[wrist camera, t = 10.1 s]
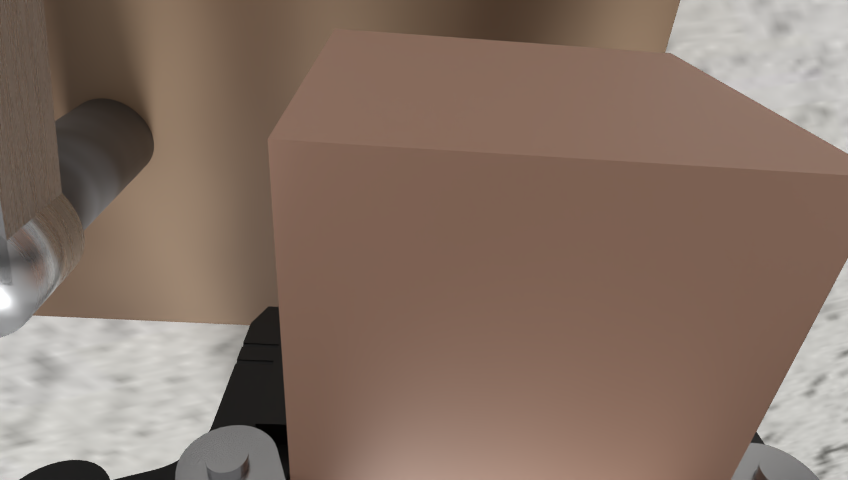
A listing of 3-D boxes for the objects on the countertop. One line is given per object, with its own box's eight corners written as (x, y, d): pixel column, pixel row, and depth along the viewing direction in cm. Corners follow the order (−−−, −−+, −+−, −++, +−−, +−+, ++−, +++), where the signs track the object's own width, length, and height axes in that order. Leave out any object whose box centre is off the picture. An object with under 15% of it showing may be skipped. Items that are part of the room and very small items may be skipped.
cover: (670, 53, 9) (890, 177, 5) (548, 484, 15) (604, 720, 11) (335, 28, 9) (267, 139, 5) (336, 478, 15) (306, 716, 10)
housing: (658, -81, 17) (825, -67, 10) (562, 293, 24) (624, 447, 18) (-116, -158, 16) (-516, -201, 9) (23, 265, 23) (-139, 424, 16)
